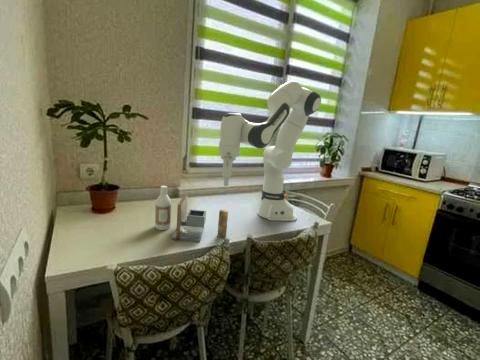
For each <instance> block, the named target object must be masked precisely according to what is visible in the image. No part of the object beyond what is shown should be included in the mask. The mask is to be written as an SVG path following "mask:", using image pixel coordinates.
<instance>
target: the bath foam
mask: <svg viewBox="0 0 480 360" xmlns="http://www.w3.org/2000/svg"><path fill="white" fill-rule="evenodd" d="M154 210H155V214H154V215H155V220H154V222H155V223H154V226H155V229H156V230H158V231H166V230H169V229H170V228H171V220H172V219H171V217H172V200H171V198H170V196H169V195H168V186H167V185H160V194H159V195H158V197H157V198H156V200H155V209H154Z"/></svg>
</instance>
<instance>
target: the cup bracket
mask: <svg viewBox="0 0 480 360" xmlns="http://www.w3.org/2000/svg"><path fill="white" fill-rule="evenodd" d="M188 196H189V194H187V193H184V194H183V196H182V197H181V199H180V201H179V202H178V203H177V213H176V214H177V215H176V229H175V231H174V233H173V235H172V237H171V240H172V241H181V242H192V243H193V242H194V243H201V241H202V236H203V232H204V230H205V224H206V219H207V210H198V209H197V210H196V209H189V211H188Z"/></svg>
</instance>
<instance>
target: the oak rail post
mask: <svg viewBox="0 0 480 360" xmlns="http://www.w3.org/2000/svg"><path fill="white" fill-rule="evenodd" d="M228 218H229V210H226V209H219V211H218V224H217V233H216V234H217V235H216V236H217V237H218V238H226V237H227V230H228V221H229V219H228Z"/></svg>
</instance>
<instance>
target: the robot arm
mask: <svg viewBox="0 0 480 360" xmlns="http://www.w3.org/2000/svg"><path fill="white" fill-rule="evenodd" d="M321 102H322V97H321V95H320V94H319V93H318V92H315V91H312V90H310V89H308V88H306V87H302V86H301V84H300V83H299V82H298V81H296V80H289V81H287V82H285V83H284V84H282V85H280V86H279V87H278V88H277V89H275V90H274V91H273V92H272V93H271V94H270V95H269V97H268V98H267V103H266V104H267V108H268V110H269V112H270V113H271V115H270V116H269V117H268V118H267V120H266V121H264V122H260V123H257V122H256V123H255V122H250V121H248V120H247V119H246V118H244V117H243V116H242V114H241V113H239V112H227V113H225V114H223V116H222V119H221V122H220V131H219V135H220V140H219V144H218V156H220V159H221V160H223V163H222V171H221V172H222V173H221V177H223V186H224V187H228V185H229V180H230V178H231V177H232V170H233V163H234V161H236V160H237V158H239V156H240V149H241V148H240V147H241V144H245V145H247V146H252V147H254V148H256V149H264V148H265V149H264V151H263V153H262V155H263V174H264V175H263V176H264V177H263V184H262V190H261V192H260V193H261V194H260V204H259V208H258V210H257V213H256V214H257V215H258V216H259V217H262V218H264V219H267V220H269V221H283V222H284V221H288V222H289V221H293V222H294V221H296V220H297V218H298V217H297V214H296V213H295V212H294V208H293V207H294V206H293V205H292V204H291V203H290V202H289V201H288V200H287V198H288V195H287V194H286V193H285V192H284V191H283V188H284V182H285V177H284V173H283V172H284V171H283V170H288V169H289V168H290V167H291V165H292V163H293V154H294V150H295V146H296V144H297V142H298V140H299V138H300V137H301V135H302V133H303V131H304V129H305V127H306V124H307V122H308V119H309V116H310V115H313V114H314V113H316V112H317V111H318V110H319V107H320V106H321ZM277 131H278V133H277ZM276 133H277V139H276V141H275V145H270V146H268V145H269V144H270V143H271V141H272V139H273V137H274V136H275V134H276Z"/></svg>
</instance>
